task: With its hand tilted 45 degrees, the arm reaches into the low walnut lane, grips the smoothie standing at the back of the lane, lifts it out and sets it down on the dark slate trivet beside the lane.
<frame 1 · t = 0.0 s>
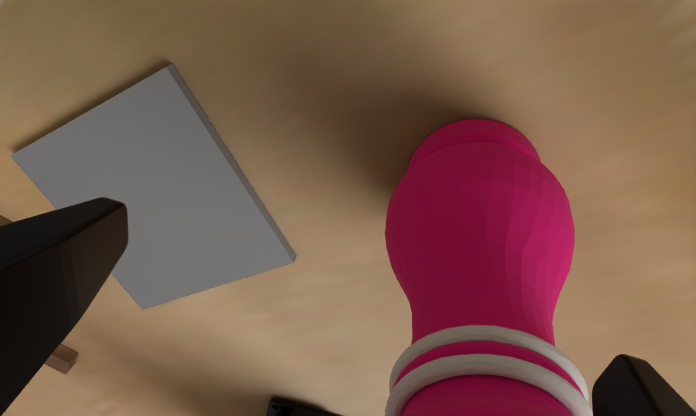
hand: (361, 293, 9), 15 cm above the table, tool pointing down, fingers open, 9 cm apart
trivet: (157, 203, 28), on the table
pepper mill: (472, 177, 23), on the table
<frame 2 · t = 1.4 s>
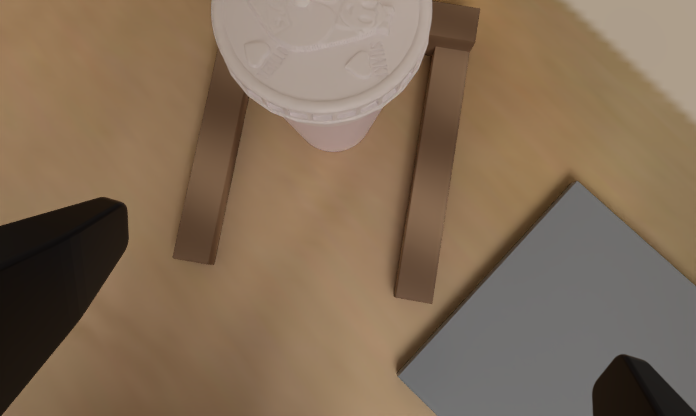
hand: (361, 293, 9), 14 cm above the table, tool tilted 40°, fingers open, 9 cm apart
trivet: (586, 370, 22), on the table
lane: (333, 114, 23), on the table
smoothie: (334, 115, 23), on the table
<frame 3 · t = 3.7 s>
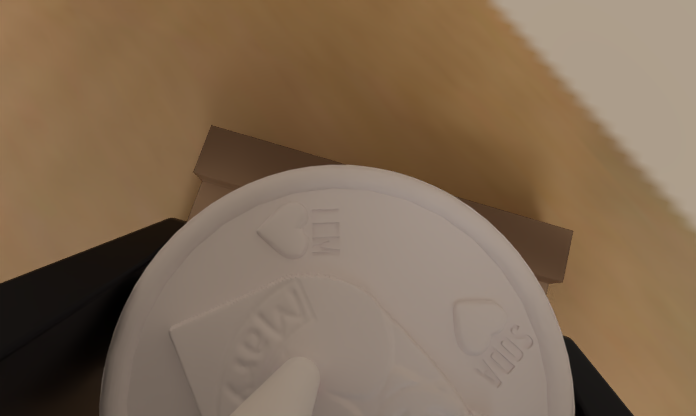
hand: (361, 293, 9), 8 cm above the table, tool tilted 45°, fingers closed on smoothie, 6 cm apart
lane: (339, 343, 16), on the table
smoothie: (339, 343, 16), on the table, touching gripper
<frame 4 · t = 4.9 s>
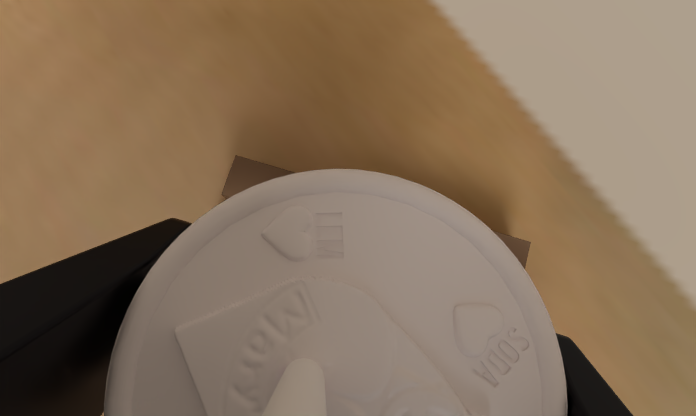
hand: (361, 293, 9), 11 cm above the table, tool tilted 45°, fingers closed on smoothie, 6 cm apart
lane: (340, 333, 19), on the table
smoothie: (329, 338, 16), point 3 cm above the table, touching gripper
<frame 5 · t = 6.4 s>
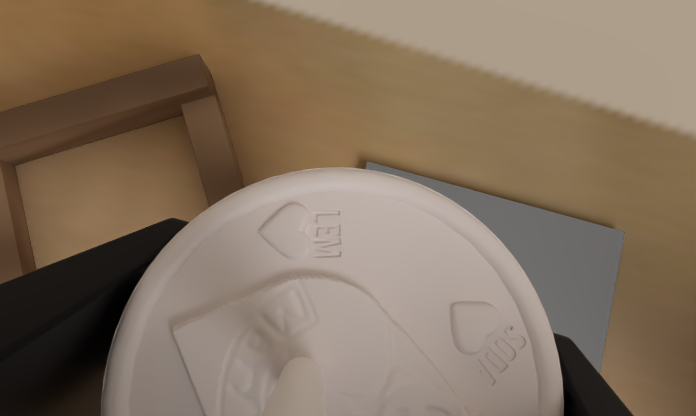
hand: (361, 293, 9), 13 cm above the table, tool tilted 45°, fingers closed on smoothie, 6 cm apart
trivet: (460, 325, 21), on the table
lane: (119, 211, 22), on the table
smoothie: (324, 336, 16), point 5 cm above the table, touching gripper
when the fingers open (9 cm above the table, at t = 8.1 s): smoothie stays where it is, resting on trivet.
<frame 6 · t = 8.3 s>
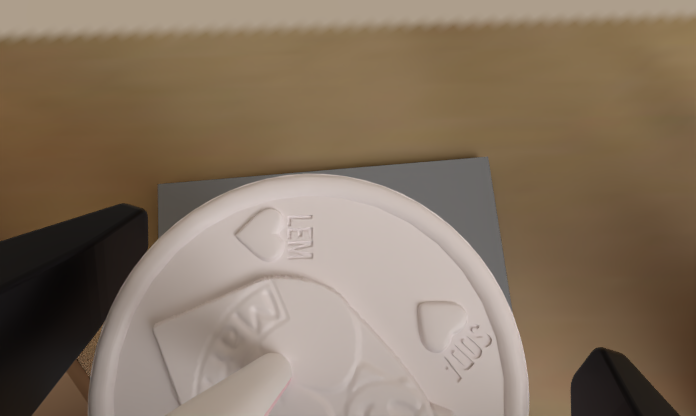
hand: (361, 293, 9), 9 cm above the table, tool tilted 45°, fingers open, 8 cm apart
trivet: (339, 339, 17), on the table
smoothie: (328, 340, 16), resting on trivet
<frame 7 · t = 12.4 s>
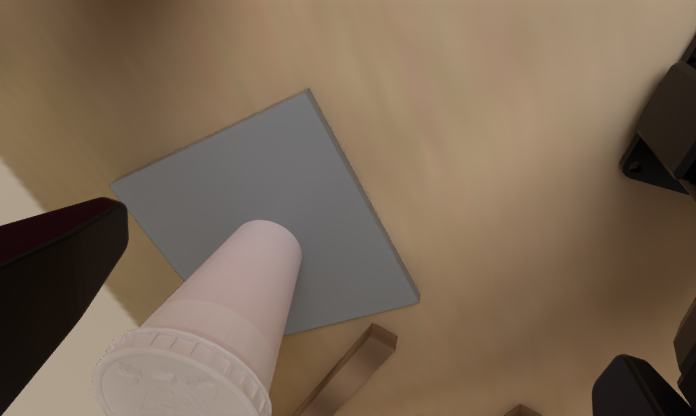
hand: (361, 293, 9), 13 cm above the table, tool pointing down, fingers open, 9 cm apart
trivet: (267, 237, 25), on the table
smoothie: (268, 247, 25), resting on trivet
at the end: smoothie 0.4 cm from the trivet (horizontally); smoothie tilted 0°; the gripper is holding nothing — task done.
